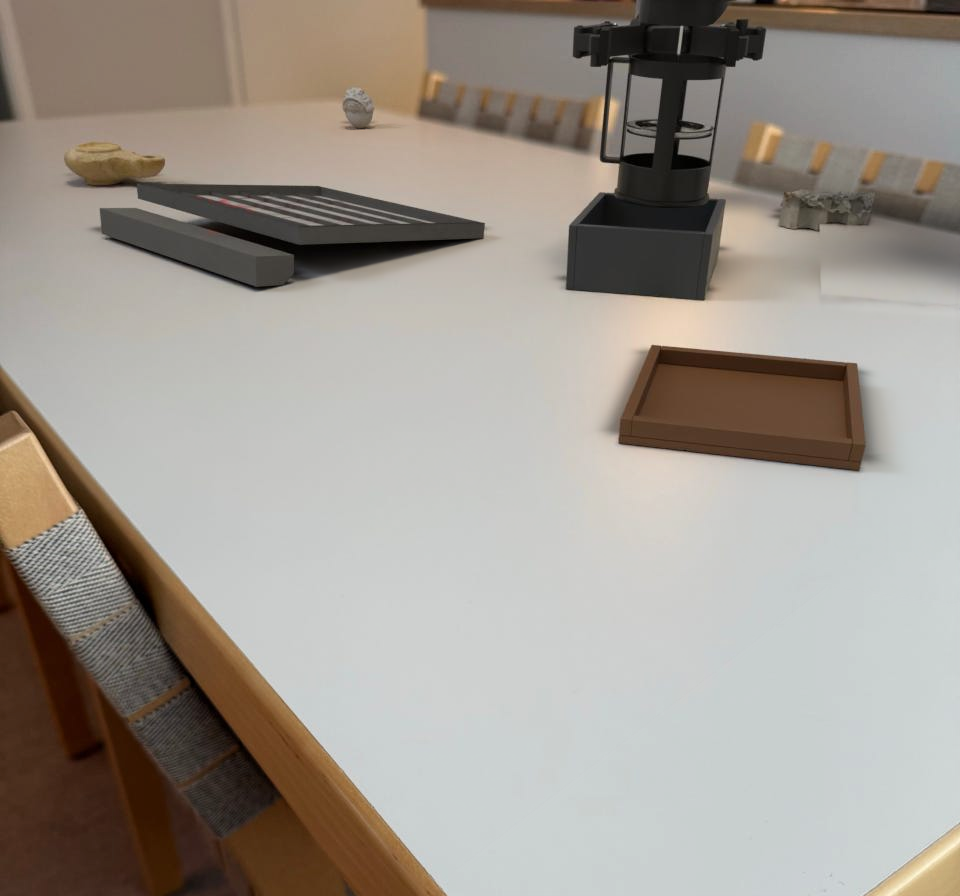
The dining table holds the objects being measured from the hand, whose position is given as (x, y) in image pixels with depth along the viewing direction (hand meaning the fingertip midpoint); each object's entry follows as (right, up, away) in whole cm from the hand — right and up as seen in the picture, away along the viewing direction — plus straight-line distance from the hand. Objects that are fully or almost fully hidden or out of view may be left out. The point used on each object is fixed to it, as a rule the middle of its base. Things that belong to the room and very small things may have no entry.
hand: (667, 48), depth 85 cm
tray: (+2, -36, -16) cm, 40 cm away
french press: (+1, -8, +11) cm, 14 cm away
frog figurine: (-40, +47, +101) cm, 118 cm away
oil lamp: (-70, +14, +55) cm, 90 cm away
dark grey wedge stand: (-39, -5, +28) cm, 48 cm away
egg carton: (+26, -2, +33) cm, 42 cm away
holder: (+1, -14, +15) cm, 21 cm away
